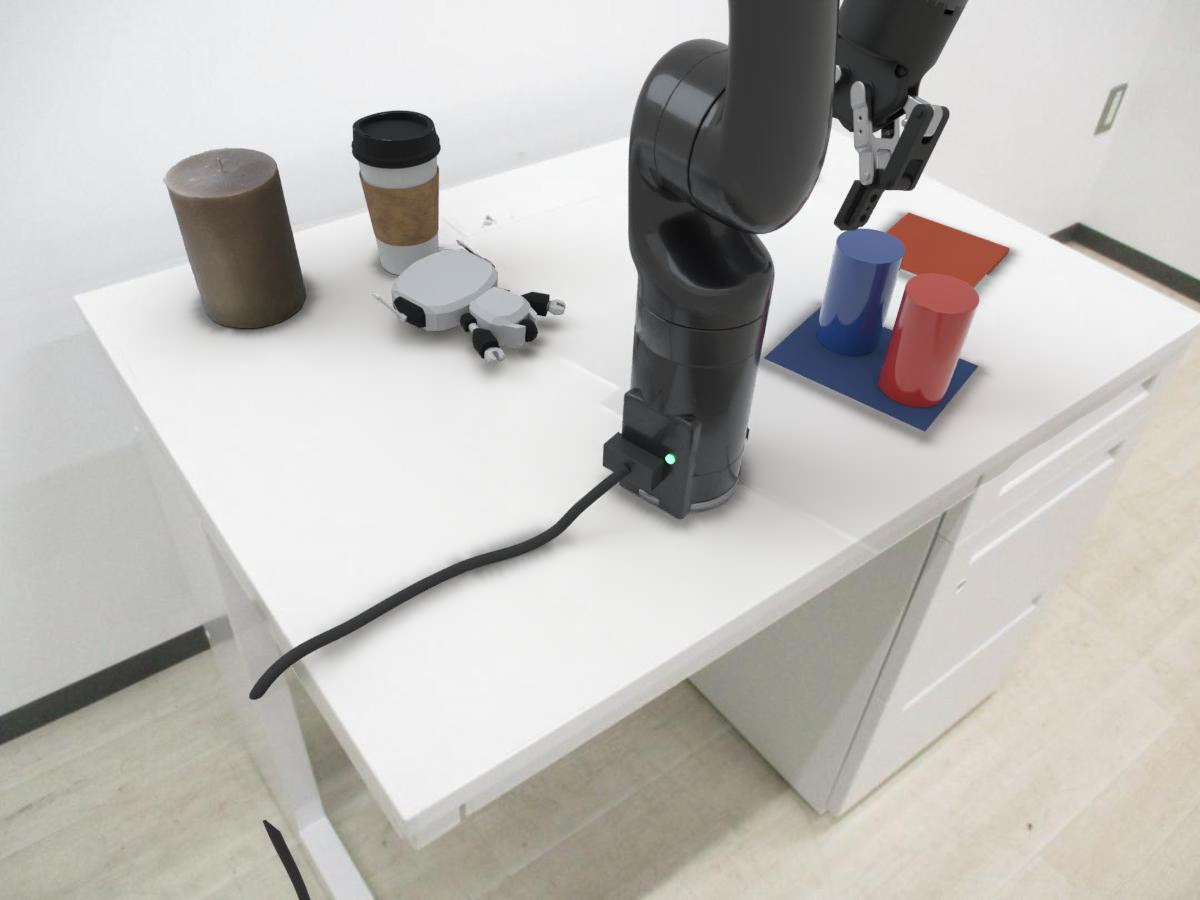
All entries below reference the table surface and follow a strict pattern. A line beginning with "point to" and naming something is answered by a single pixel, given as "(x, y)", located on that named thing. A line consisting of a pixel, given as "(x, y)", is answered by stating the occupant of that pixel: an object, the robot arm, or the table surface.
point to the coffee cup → (400, 184)
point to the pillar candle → (237, 236)
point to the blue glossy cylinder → (859, 291)
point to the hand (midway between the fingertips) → (809, 198)
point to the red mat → (945, 250)
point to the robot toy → (468, 301)
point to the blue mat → (857, 373)
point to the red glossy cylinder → (927, 339)
